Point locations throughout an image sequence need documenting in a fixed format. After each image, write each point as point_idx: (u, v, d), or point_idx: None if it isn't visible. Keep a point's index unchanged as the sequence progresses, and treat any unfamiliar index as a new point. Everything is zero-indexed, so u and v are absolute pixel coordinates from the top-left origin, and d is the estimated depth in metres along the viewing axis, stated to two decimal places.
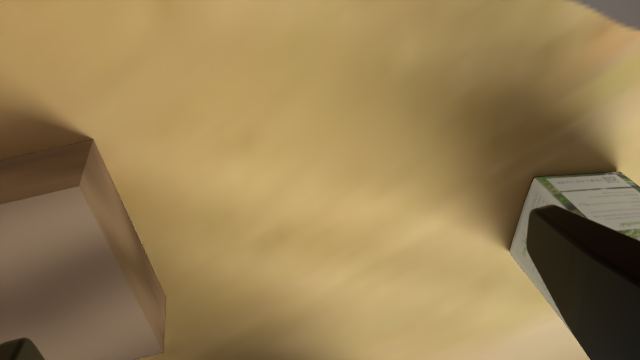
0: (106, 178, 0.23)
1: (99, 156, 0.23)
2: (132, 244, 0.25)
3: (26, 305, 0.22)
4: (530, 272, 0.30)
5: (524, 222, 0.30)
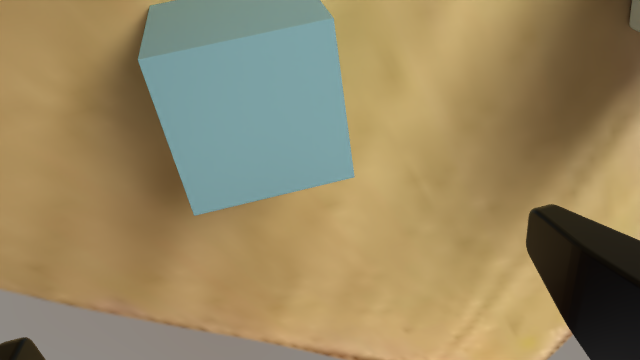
0: None
1: None
2: None
3: None
4: None
5: None
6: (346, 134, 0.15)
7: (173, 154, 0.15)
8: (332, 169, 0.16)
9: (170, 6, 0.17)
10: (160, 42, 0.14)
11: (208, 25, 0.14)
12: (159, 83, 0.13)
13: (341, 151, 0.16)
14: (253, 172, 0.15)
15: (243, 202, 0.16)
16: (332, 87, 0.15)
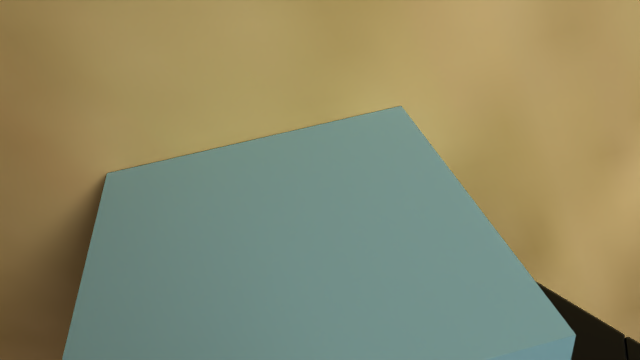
0: None
1: None
2: None
3: None
4: None
5: None
6: None
7: None
8: None
9: (146, 187, 0.08)
10: None
11: (229, 298, 0.06)
12: None
13: None
14: None
15: None
16: None
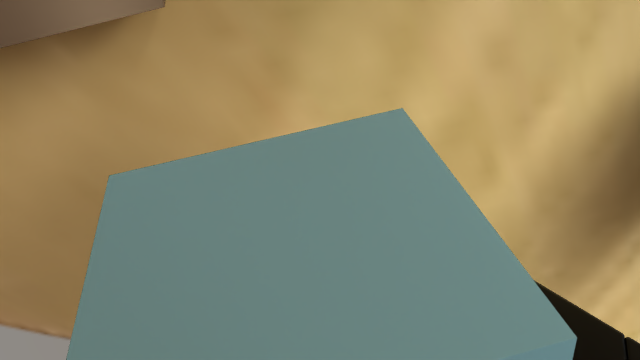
0: None
1: None
2: None
3: None
4: None
5: None
6: None
7: None
8: None
9: (148, 189, 0.08)
10: None
11: (232, 301, 0.06)
12: None
13: None
14: None
15: None
16: None
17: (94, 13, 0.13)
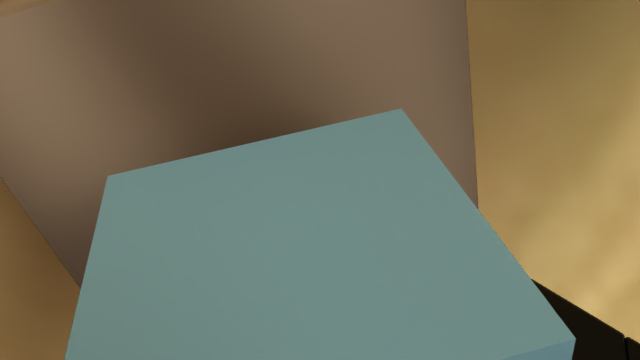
0: None
1: None
2: None
3: None
4: None
5: None
6: None
7: None
8: None
9: (146, 190, 0.08)
10: None
11: (230, 301, 0.06)
12: None
13: None
14: None
15: None
16: None
17: None
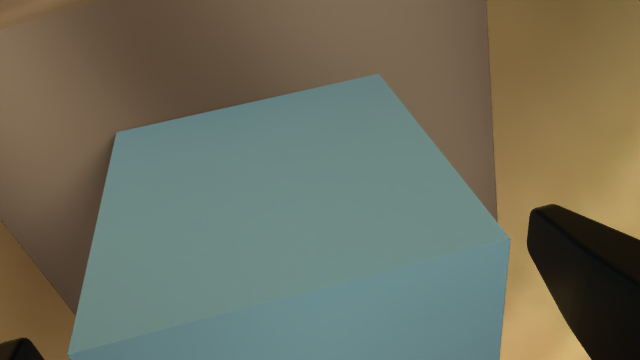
0: None
1: None
2: None
3: None
4: None
5: None
6: None
7: None
8: None
9: (152, 142, 0.09)
10: (125, 275, 0.06)
11: (226, 222, 0.07)
12: None
13: None
14: None
15: None
16: (481, 347, 0.07)
17: None
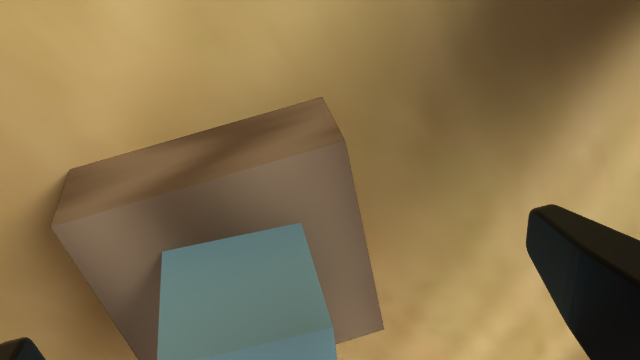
0: (112, 163, 0.20)
1: (89, 165, 0.20)
2: (201, 145, 0.19)
3: None
4: None
5: None
6: None
7: None
8: None
9: (181, 260, 0.18)
10: (176, 336, 0.15)
11: (218, 311, 0.16)
12: None
13: None
14: None
15: None
16: None
17: (347, 336, 0.23)
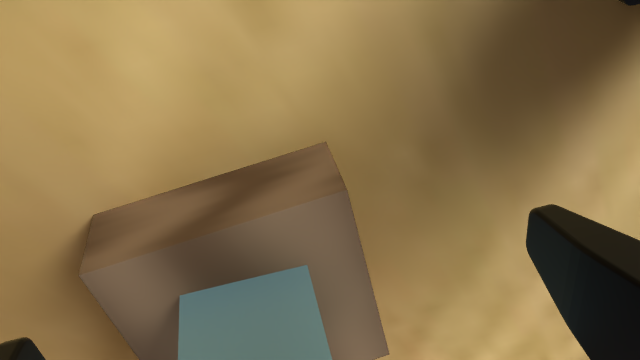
0: (131, 210, 0.21)
1: (110, 211, 0.22)
2: (214, 191, 0.21)
3: None
4: None
5: None
6: None
7: None
8: None
9: (197, 304, 0.20)
10: None
11: (231, 356, 0.18)
12: None
13: None
14: None
15: None
16: None
17: None
